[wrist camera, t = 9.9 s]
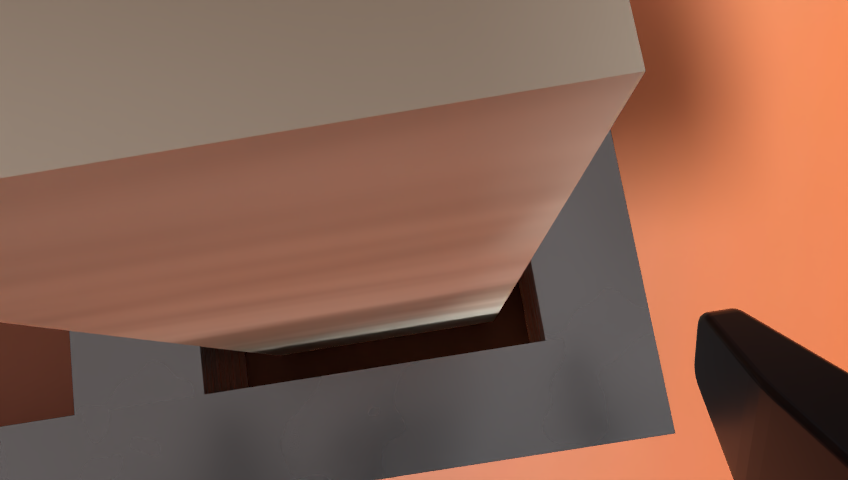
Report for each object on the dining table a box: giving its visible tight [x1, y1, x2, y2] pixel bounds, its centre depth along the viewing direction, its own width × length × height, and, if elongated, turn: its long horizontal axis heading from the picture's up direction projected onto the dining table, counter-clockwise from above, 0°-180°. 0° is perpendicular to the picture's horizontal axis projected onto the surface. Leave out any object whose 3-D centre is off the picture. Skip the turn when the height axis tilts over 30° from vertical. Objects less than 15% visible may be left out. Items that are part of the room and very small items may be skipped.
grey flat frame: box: [0, 130, 675, 480], centre depth 16 cm, size 10×20×3 cm, turn 99°
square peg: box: [0, 0, 645, 356], centre depth 10 cm, size 5×5×14 cm
